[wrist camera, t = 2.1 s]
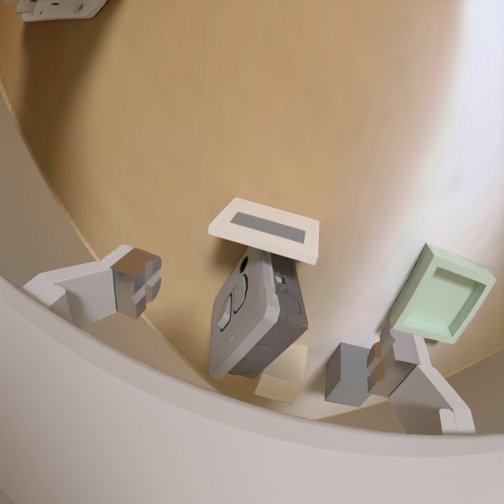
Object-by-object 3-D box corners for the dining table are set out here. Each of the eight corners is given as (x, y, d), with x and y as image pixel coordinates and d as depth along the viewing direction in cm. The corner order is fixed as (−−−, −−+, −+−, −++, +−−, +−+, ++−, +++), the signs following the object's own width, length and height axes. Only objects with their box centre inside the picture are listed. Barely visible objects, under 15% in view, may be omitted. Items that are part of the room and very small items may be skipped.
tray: (388, 314, 25) (391, 329, 23) (426, 242, 21) (434, 255, 19) (447, 330, 24) (453, 344, 22) (486, 267, 20) (496, 280, 18)
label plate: (233, 204, 23) (207, 234, 18) (235, 196, 23) (209, 224, 18) (316, 228, 23) (314, 265, 18) (319, 220, 22) (318, 256, 17)
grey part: (326, 365, 30) (324, 400, 25) (340, 342, 28) (340, 379, 23) (358, 372, 29) (359, 407, 25) (374, 349, 27) (377, 386, 23)
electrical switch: (261, 226, 24) (241, 298, 16) (312, 255, 25) (316, 335, 17) (214, 297, 29) (187, 371, 21) (259, 320, 29) (245, 395, 21)
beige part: (263, 360, 31) (254, 394, 27) (272, 337, 29) (262, 373, 25) (296, 369, 31) (290, 403, 27) (307, 347, 29) (303, 384, 25)
